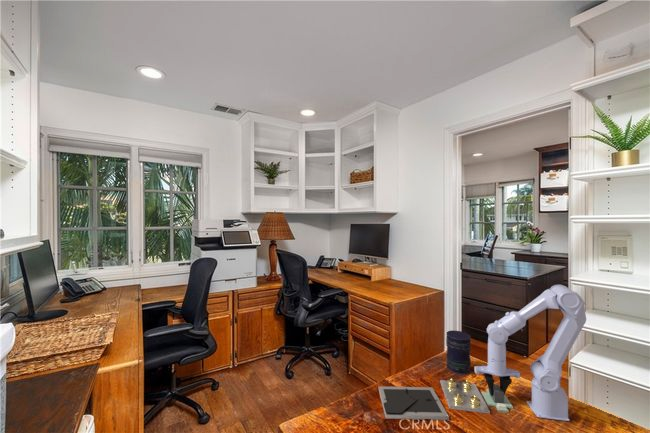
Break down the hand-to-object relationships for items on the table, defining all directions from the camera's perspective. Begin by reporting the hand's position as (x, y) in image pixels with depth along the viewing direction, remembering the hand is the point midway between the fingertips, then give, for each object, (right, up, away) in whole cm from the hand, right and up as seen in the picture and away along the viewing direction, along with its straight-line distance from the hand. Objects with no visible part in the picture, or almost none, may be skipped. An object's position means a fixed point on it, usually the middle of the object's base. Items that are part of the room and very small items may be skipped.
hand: (496, 394), depth 104 cm
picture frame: (-32, -3, -2) cm, 32 cm away
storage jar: (-4, -2, +22) cm, 23 cm away
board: (0, -2, 0) cm, 2 cm away
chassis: (-11, -2, +2) cm, 12 cm away
